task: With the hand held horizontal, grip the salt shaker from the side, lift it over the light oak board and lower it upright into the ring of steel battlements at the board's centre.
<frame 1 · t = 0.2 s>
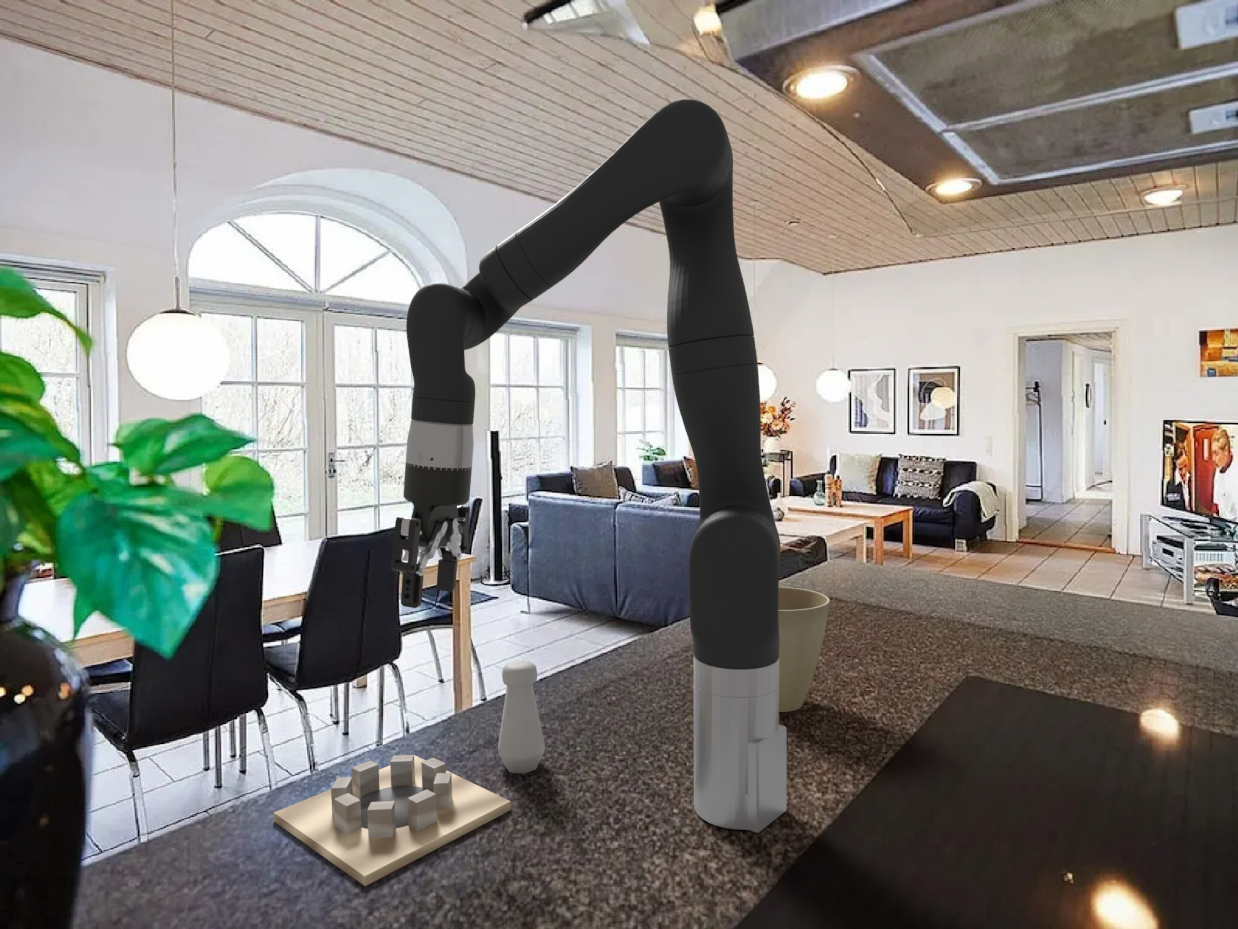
hand: (429, 598, 93), 22 cm above the kitchen counter, tool pointing down, fingers open, 8 cm apart
plant pot: (776, 704, 118), on the kitchen counter
salt shaker: (522, 767, 98), on the kitchen counter
collar: (393, 815, 87), on the kitchen counter
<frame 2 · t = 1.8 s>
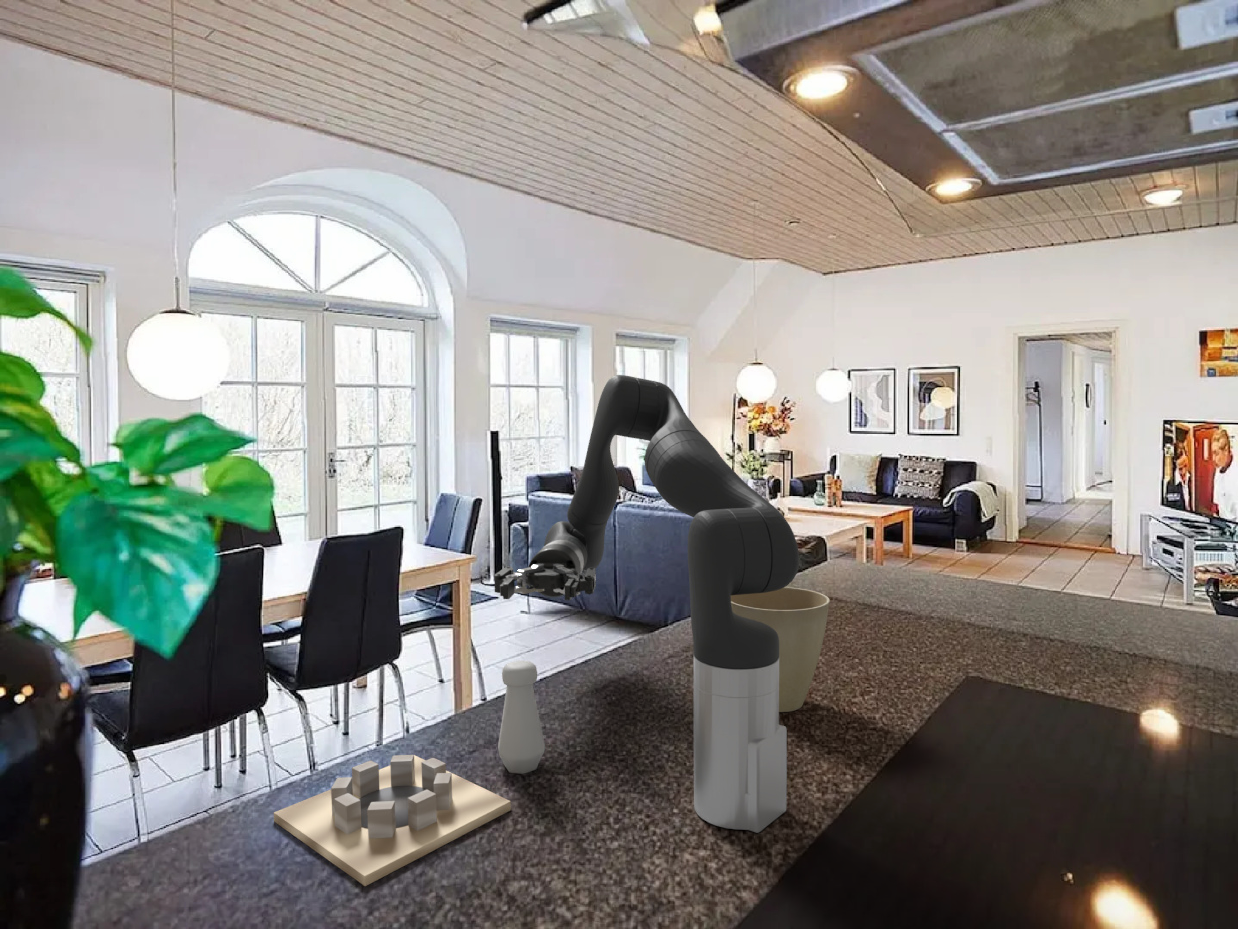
hand: (536, 592, 108), 19 cm above the kitchen counter, tool horizontal, fingers open, 8 cm apart
nothing on the kitchen counter moved.
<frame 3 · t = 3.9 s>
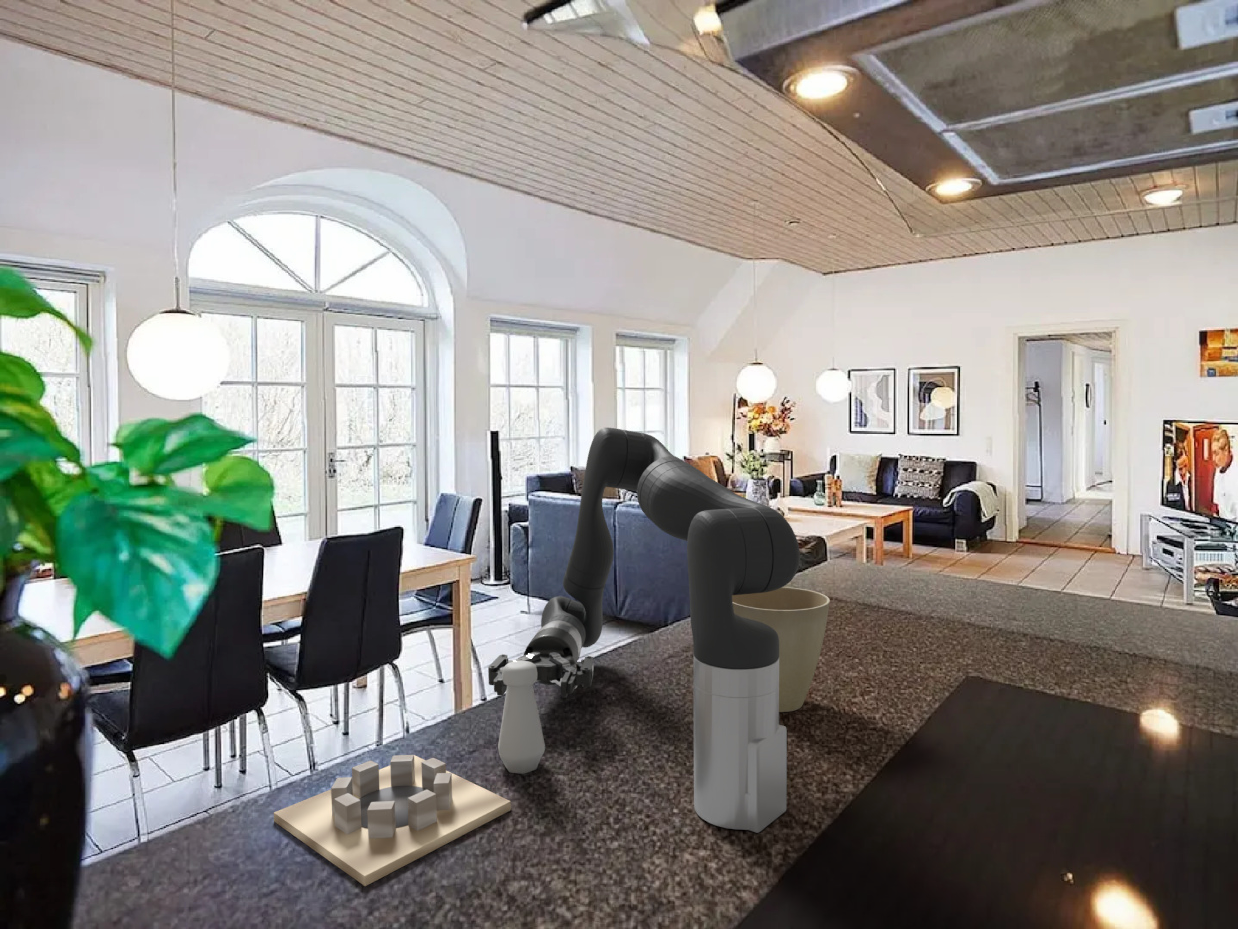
hand: (531, 689, 104), 7 cm above the kitchen counter, tool horizontal, fingers open, 8 cm apart
nothing on the kitchen counter moved.
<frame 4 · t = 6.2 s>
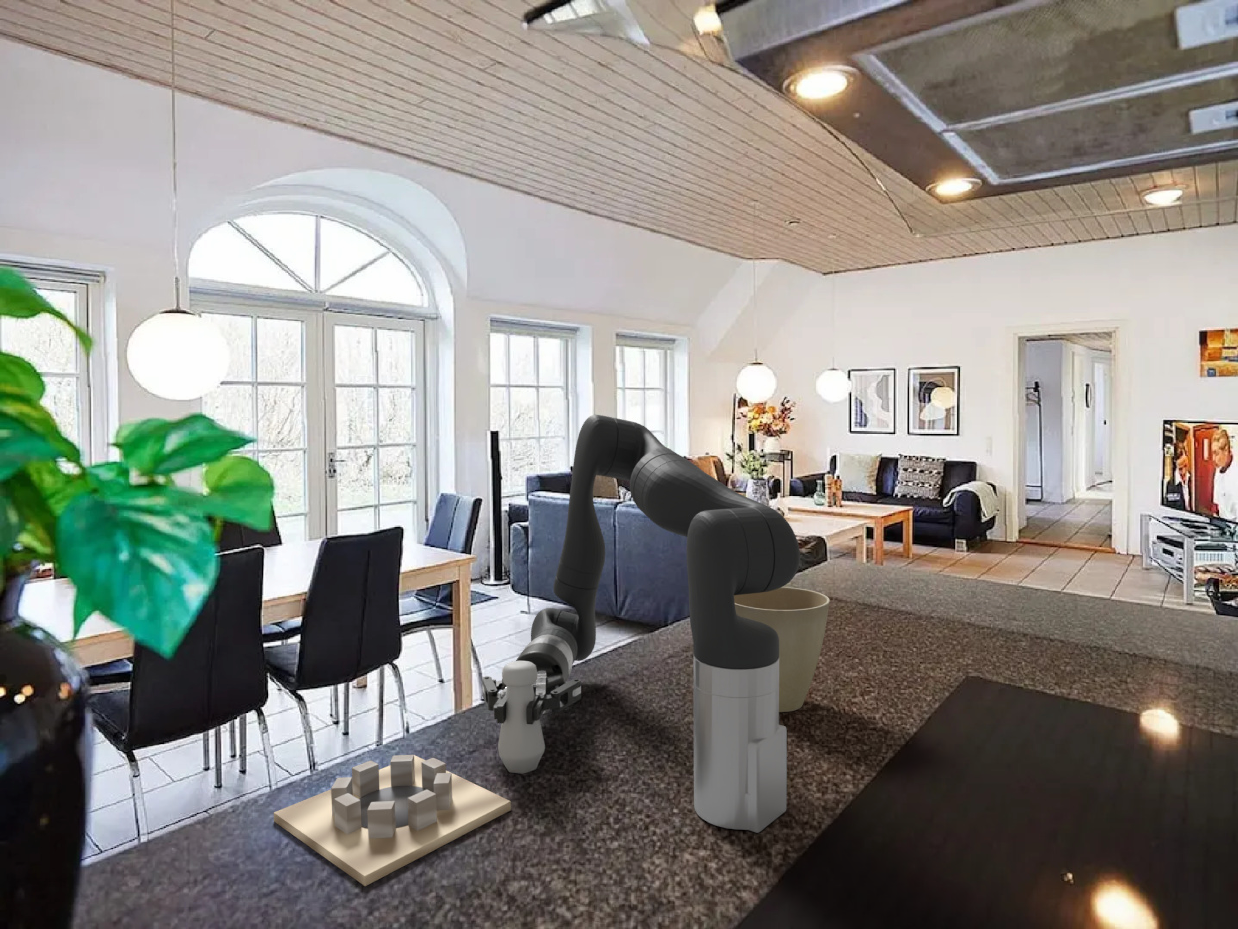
hand: (514, 716, 95), 8 cm above the kitchen counter, tool horizontal, fingers closed on salt shaker, 3 cm apart
salt shaker: (522, 767, 98), on the kitchen counter, touching gripper
everything else where it was.
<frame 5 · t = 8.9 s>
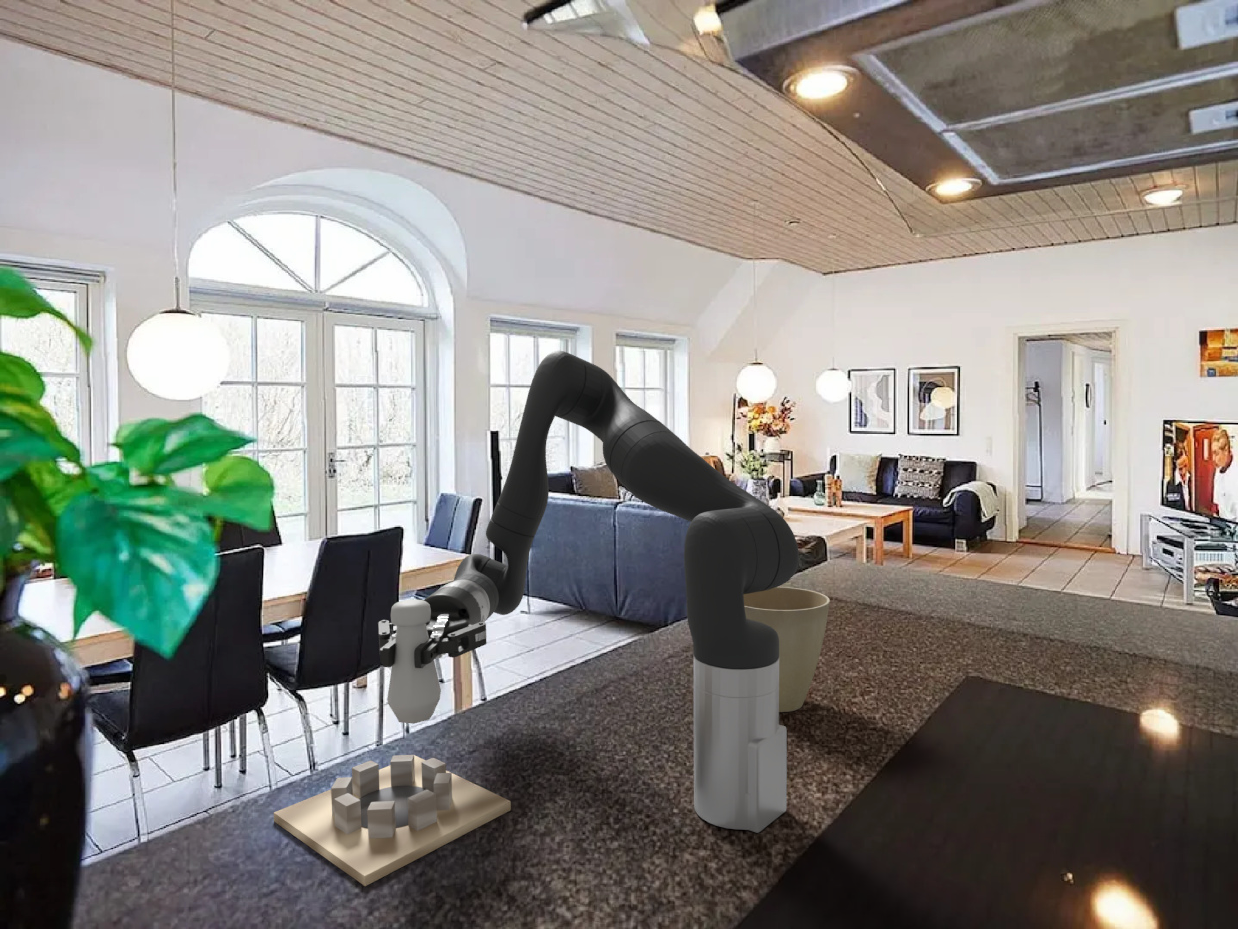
hand: (401, 658, 85), 18 cm above the kitchen counter, tool horizontal, fingers closed on salt shaker, 3 cm apart
salt shaker: (415, 717, 88), point 10 cm above the kitchen counter, touching gripper
everything else where it was.
when the fingers open (9 cm above the kitchen counter, at t = 11.5 s): salt shaker stays where it is, resting on collar.
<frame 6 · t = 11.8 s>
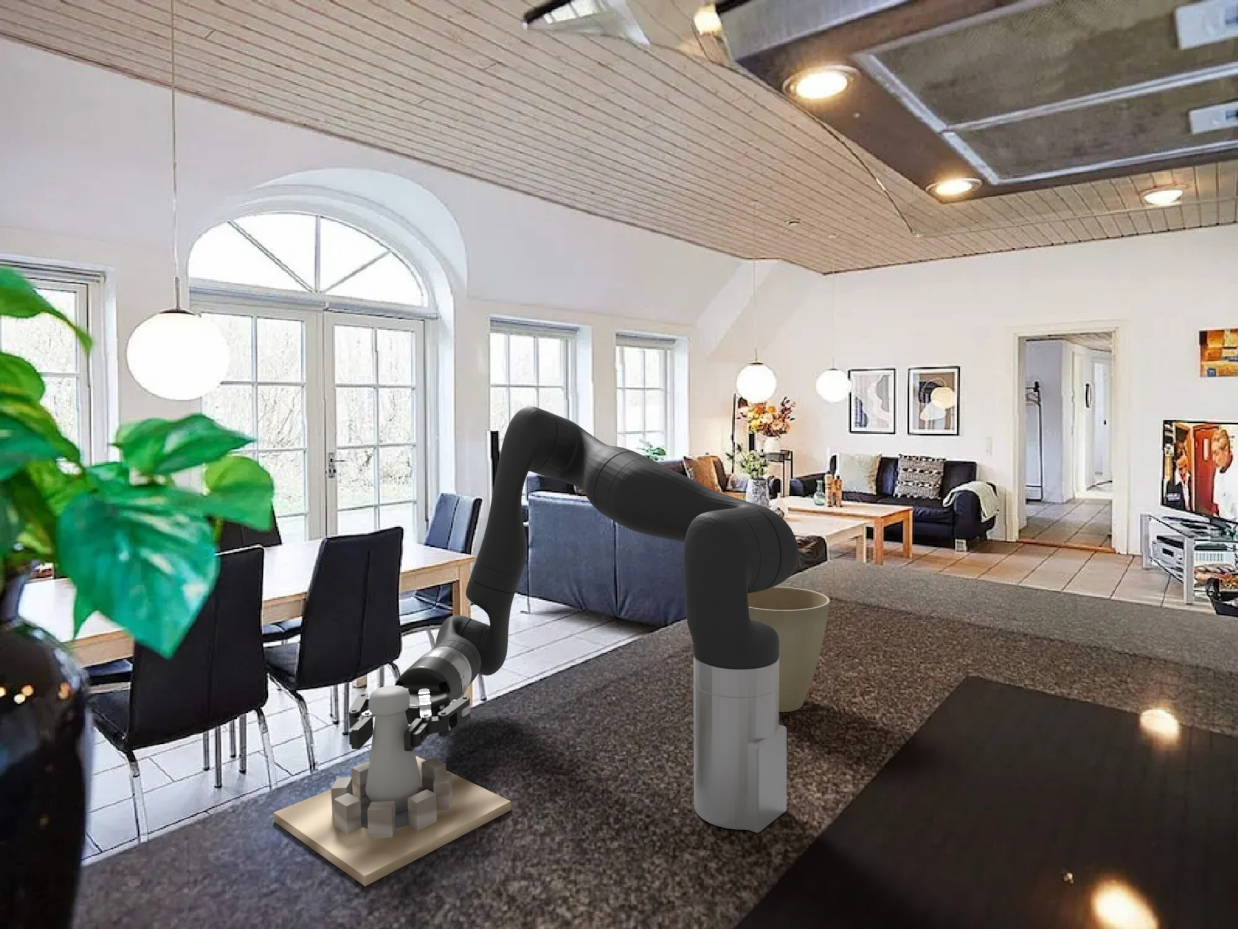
hand: (381, 741, 83), 10 cm above the kitchen counter, tool horizontal, fingers open, 5 cm apart
salt shaker: (394, 807, 87), point 1 cm above the kitchen counter, touching collar
everything else where it was.
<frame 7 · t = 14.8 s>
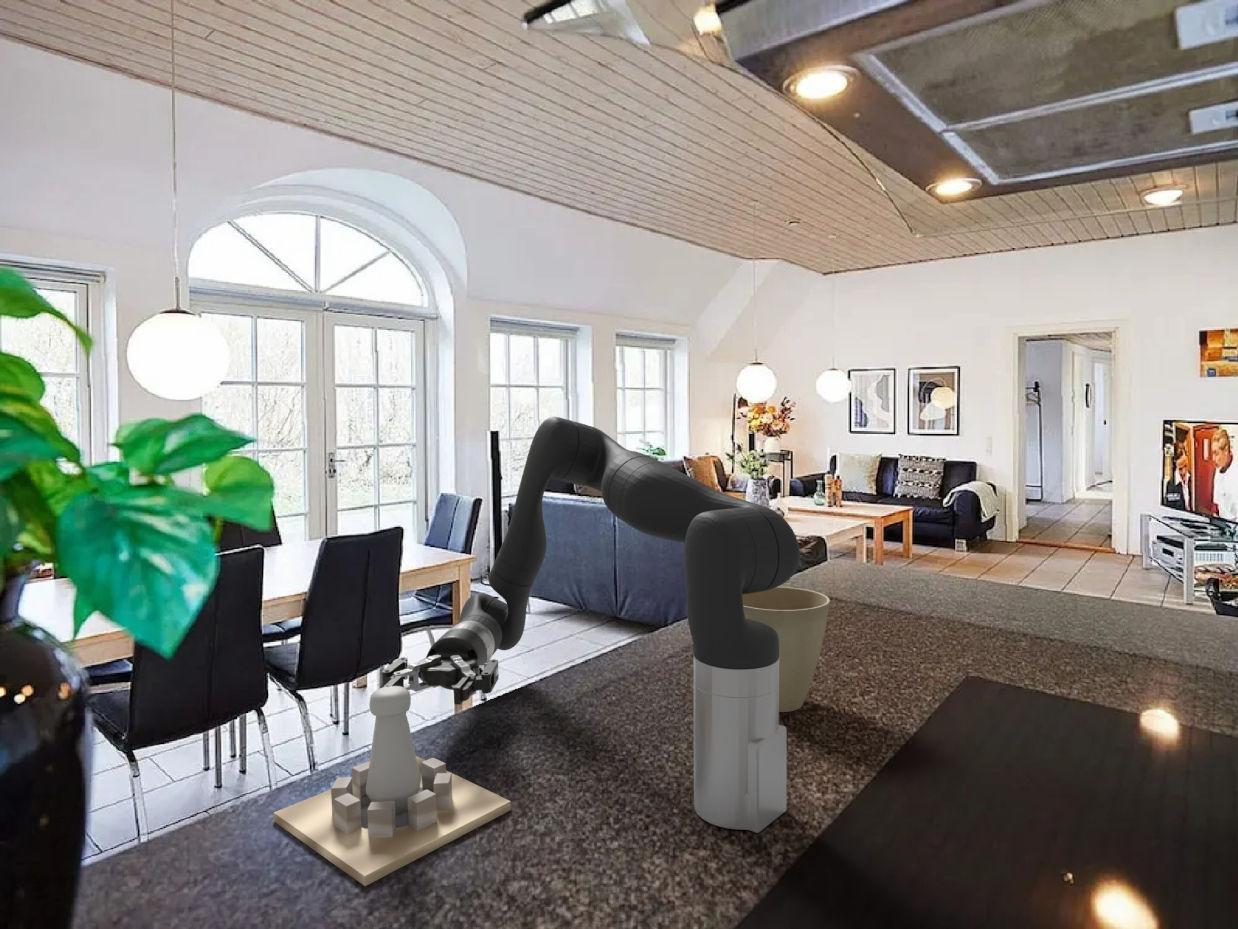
hand: (422, 696, 96), 10 cm above the kitchen counter, tool horizontal, fingers open, 8 cm apart
nothing on the kitchen counter moved.
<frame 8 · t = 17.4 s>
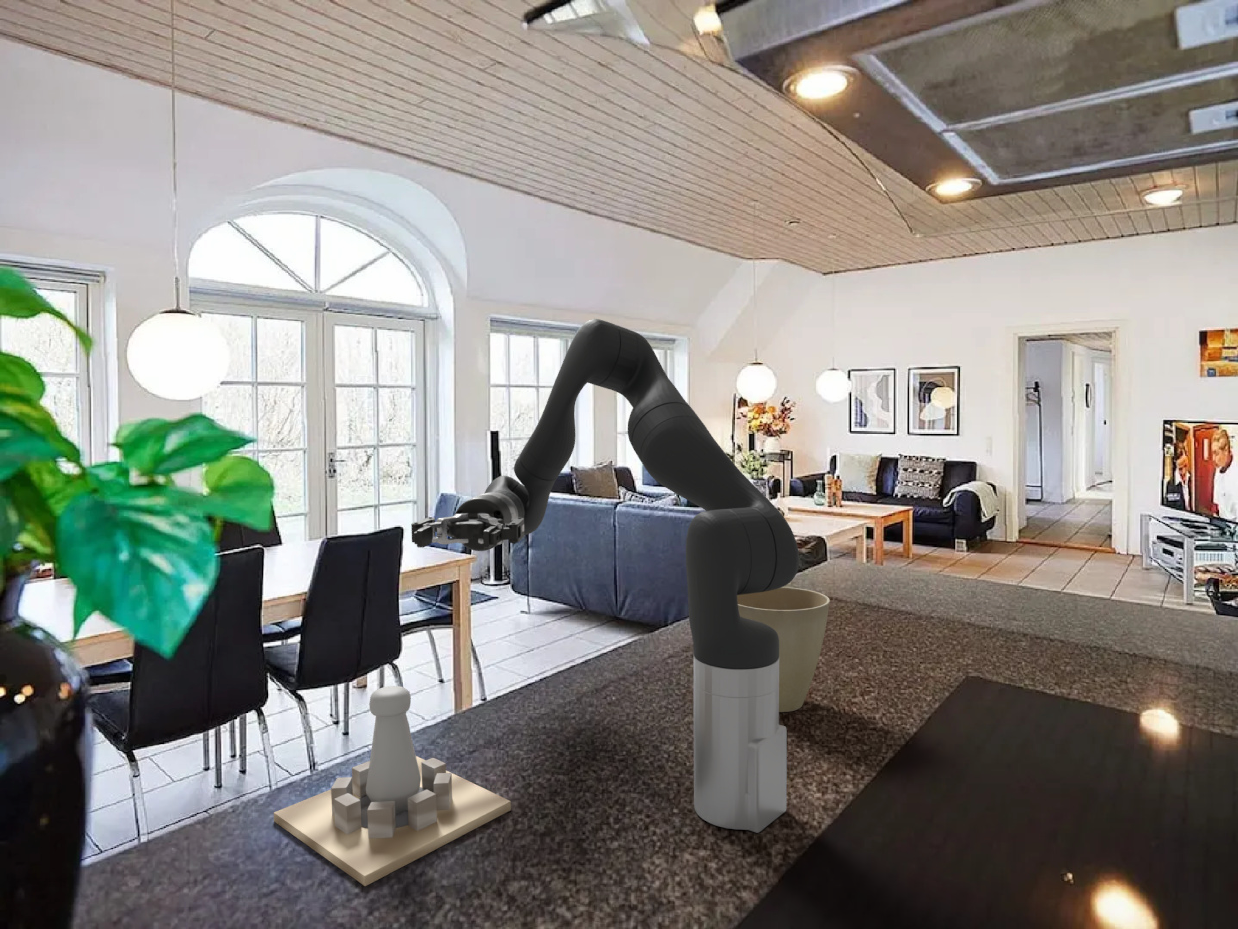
hand: (452, 539, 98), 28 cm above the kitchen counter, tool horizontal, fingers open, 8 cm apart
nothing on the kitchen counter moved.
at the end: salt shaker 0.1 cm off-centre on the collar, point 0.9 cm above the collar's base; salt shaker tilted 0°; the gripper is holding nothing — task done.
